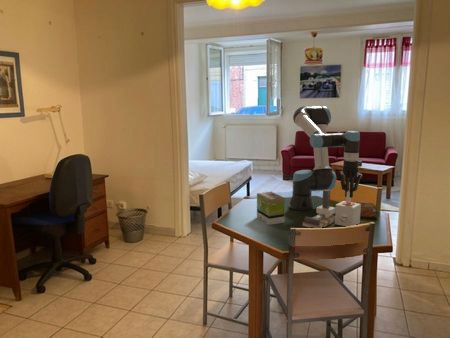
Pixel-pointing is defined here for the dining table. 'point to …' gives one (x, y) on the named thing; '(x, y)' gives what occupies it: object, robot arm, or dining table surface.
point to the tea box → (270, 207)
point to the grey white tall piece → (326, 205)
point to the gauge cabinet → (347, 214)
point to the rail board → (322, 223)
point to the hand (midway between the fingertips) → (348, 203)
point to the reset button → (348, 204)
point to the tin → (367, 209)
